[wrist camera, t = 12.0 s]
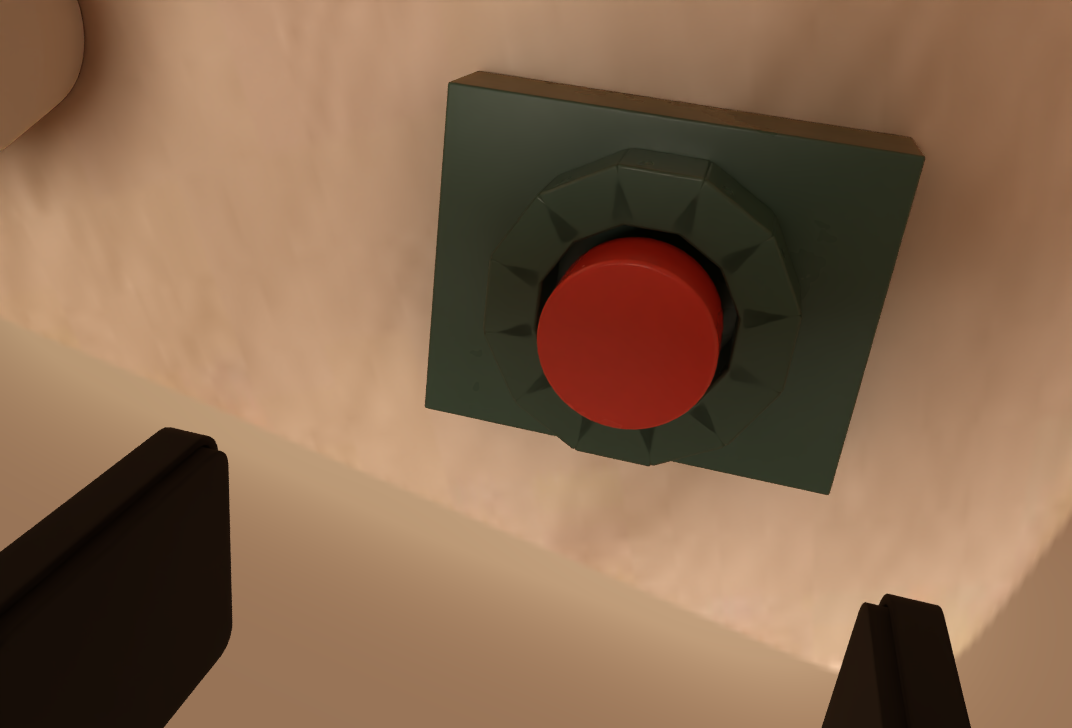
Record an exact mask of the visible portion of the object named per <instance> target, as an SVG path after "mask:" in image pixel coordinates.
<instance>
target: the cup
mask: <svg viewBox="0 0 1072 728" xmlns="http://www.w3.org/2000/svg"><path fill="white" fill-rule="evenodd" d="M83 54H84V28H83V21H82V16H81V11H80V7H79V4H78V1H77V0H0V151H2V150H3V149H5V148H6V147H7V146H9V145H10V144H11V143H12V142H14V141H15V140H16V139H17V138H18V137H20V136H21V135H22V134H23V133H24V132H26V131H27V130H28V129H29V128H30V127H32V126H33V125H34V124H35V123H36V122H37V121H39V120H40V119H41V118H42V117H43V116H45V115H46V114H47V113H48V112H49V111H51V110H52V109H53V108H54V107H55V106H57V105H58V104H59V103H60V102H61V101H62V100H63V99H64V98H65V97H66V96H67V95H68V93H69V92H70V91H71V89H72V88H73V86H74V84H75V82H76V80H77V78H78V75H79V72H80V69H81V65H82V61H83Z"/></svg>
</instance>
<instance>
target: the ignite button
mask: <svg viewBox="0 0 1072 728" xmlns="http://www.w3.org/2000/svg"><path fill="white" fill-rule="evenodd" d="M722 332H723V309H722V303H721V300H720V296H719V293H718V291H717V289H716V287H715V284H714V282H713V281H712V279H711V278H710V276H709V274H708V273H707V272H706V271H705V270H704V268H703V267H702V266H701V265H700V264H699V263H698V262H697V261H696V260H695V259H694V258H693V257H691V256H690V255H689V254H687V253H686V252H684V251H683V250H681V249H679V248H677V247H675V246H674V245H671V244H669V243H666V242H663V241H660V240H656V239H652V238H645V237H624V238H617V239H613V240H610V241H606V242H604V243H601V244H599V245H597V246H595V247H593V248H591V249H590V250H588V251H586V252H585V253H584V254H583V255H581V256H580V257H579V258H578V259H577V260H576V261H575V262H574V263H573V264H572V265H571V266H570V267H569V269H568V270H567V272H566V273H565V274H564V276H563V277H562V279H561V280H560V282H559V283H558V285H557V286H556V288H555V289H554V291H553V292H552V293H551V295H550V296H549V298H548V299H547V301H546V303H545V305H544V307H543V310H542V312H541V315H540V318H539V323H538V328H537V351H538V356H539V360H540V364H541V366H542V369H543V372H544V374H545V376H546V378H547V380H548V382H549V384H550V385H551V386H552V388H553V389H554V391H555V392H556V393H557V395H558V396H559V397H560V398H561V399H562V400H563V401H564V402H565V403H566V404H567V405H568V406H569V407H570V408H572V409H573V410H574V411H576V412H577V413H579V414H580V415H582V416H584V417H586V418H587V419H589V420H591V421H594V422H596V423H599V424H601V425H605V426H609V427H612V428H619V429H633V430H636V429H647V428H651V427H656V426H659V425H662V424H665V423H668V422H670V421H672V420H674V419H676V418H679V417H680V416H682V415H683V414H685V413H686V412H688V411H689V410H690V409H691V408H692V407H693V406H694V405H696V404H697V402H698V401H699V400H700V399H701V398H702V397H703V395H704V394H705V392H706V391H707V389H708V388H709V386H710V384H711V382H712V380H713V377H714V375H715V371H716V368H717V364H718V358H719V351H720V345H721V339H722Z"/></svg>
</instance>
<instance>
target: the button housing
mask: <svg viewBox="0 0 1072 728" xmlns="http://www.w3.org/2000/svg"><path fill="white" fill-rule="evenodd" d="M924 161H925V156H924V155H923V153H922V152H921V150H920V149H919V147H918V146H917V145H916V143H915V142H914V140H913V139H912V138H911V137H905V136H898V135H892V134H885V133H879V132H872V131H866V130H859V129H853V128H846V127H840V126H833V125H827V124H820V123H813V122H807V121H800V120H794V119H787V118H781V117H774V116H768V115H761V114H755V113H748V112H742V111H735V110H729V109H722V108H716V107H709V106H703V105H696V104H690V103H683V102H677V101H670V100H664V99H657V98H651V97H644V96H638V95H631V94H625V93H618V92H612V91H605V90H599V89H592V88H586V87H579V86H572V85H566V84H559V83H553V82H546V81H540V80H533V79H527V78H520V77H514V76H507V75H501V74H494V73H488V72H481V71H477V72H474V73H472V74H469V75H467V76H464V77H461V78H459V79H456V80H454V81H451V82H449V84H448V94H447V108H446V121H445V135H444V149H443V163H442V177H441V190H440V204H439V218H438V232H437V246H436V259H435V273H434V287H433V301H432V315H431V328H430V342H429V356H428V370H427V384H426V397H425V407H426V408H429V409H433V410H438V411H443V412H447V413H452V414H456V415H461V416H466V417H470V418H475V419H479V420H484V421H489V422H493V423H498V424H502V425H507V426H512V427H516V428H521V429H526V430H530V431H535V432H539V433H544V434H549V435H553V436H557V437H559V438H560V439H561V440H562V441H564V442H565V443H566V444H567V445H569V446H570V447H571V448H573V449H574V448H575V450H577V451H581V452H586V453H590V454H595V455H599V456H604V457H608V458H613V459H618V460H622V461H627V462H631V463H636V464H640V465H645V466H650V465H658V464H661V463H665V462H669V461H673V462H678V463H682V464H687V465H691V466H696V467H701V468H705V469H710V470H714V471H719V472H724V473H728V474H733V475H737V476H742V477H747V478H751V479H756V480H761V481H765V482H770V483H774V484H779V485H784V486H788V487H793V488H797V489H802V490H807V491H811V492H816V493H820V494H825V495H829V493H830V490H831V487H832V483H833V480H834V476H835V473H836V469H837V466H838V462H839V459H840V455H841V452H842V448H843V445H844V441H845V438H846V434H847V431H848V427H849V424H850V420H851V417H852V413H853V410H854V406H855V403H856V399H857V396H858V392H859V389H860V385H861V382H862V378H863V375H864V371H865V368H866V364H867V361H868V357H869V354H870V350H871V347H872V343H873V340H874V336H875V333H876V329H877V326H878V322H879V319H880V315H881V312H882V308H883V305H884V301H885V298H886V294H887V291H888V287H889V284H890V280H891V277H892V273H893V270H894V266H895V263H896V259H897V256H898V252H899V249H900V245H901V242H902V238H903V235H904V231H905V228H906V224H907V221H908V217H909V214H910V210H911V207H912V203H913V200H914V196H915V193H916V189H917V186H918V182H919V179H920V175H921V172H922V168H923V165H924ZM624 237H645V238H652V239H656V240H660V241H663V242H666V243H669V244H671V245H674V246H675V247H677V248H679V249H681V250H683V251H684V252H686V253H687V254H689V255H690V256H691V257H693V258H694V259H695V260H696V261H697V262H698V263H699V264H700V265H701V266H702V267H703V268H704V270H705V271H706V272H707V273H708V274H709V276H710V278H711V279H712V281H713V282H714V284H715V287H716V289H717V291H718V293H719V296H720V300H721V303H722V309H723V332H722V339H721V345H720V351H719V358H718V364H717V368H716V371H715V375H714V377H713V380H712V382H711V384H710V386H709V388H708V389H707V391H706V392H705V394H704V395H703V397H702V398H701V399H700V400H699V401H698V402H697V404H696V405H694V406H693V407H692V408H691V409H690V410H689V411H688V412H686V413H685V414H683V415H682V416H680V417H679V418H676V419H674V420H672V421H670V422H668V423H665V424H662V425H659V426H656V427H651V428H647V429H636V430H633V429H619V428H612V427H609V426H605V425H601V424H599V423H596V422H594V421H591V420H589V419H587V418H586V417H584V416H582V415H580V414H579V413H577V412H576V411H574V410H573V409H572V408H570V407H569V406H568V405H567V404H566V403H565V402H564V401H563V400H562V399H561V398H560V397H559V396H558V395H557V393H556V392H555V391H554V389H553V388H552V386H551V385H550V384H549V382H548V380H547V378H546V376H545V374H544V372H543V369H542V366H541V364H540V360H539V356H538V351H537V328H538V323H539V318H540V315H541V312H542V310H543V307H544V305H545V303H546V301H547V299H548V298H549V296H550V295H551V293H552V292H553V291H554V289H555V288H556V286H557V285H558V283H559V282H560V280H561V279H562V277H563V276H564V274H565V273H566V272H567V270H568V269H569V267H570V266H571V265H572V264H573V263H574V262H575V261H576V260H577V259H578V258H579V257H580V256H581V255H583V254H584V253H585V252H586V251H588V250H590V249H591V248H593V247H595V246H597V245H599V244H601V243H604V242H606V241H610V240H613V239H617V238H624Z"/></svg>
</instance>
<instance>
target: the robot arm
mask: <svg viewBox="0 0 1072 728" xmlns="http://www.w3.org/2000/svg"><path fill="white" fill-rule="evenodd" d="M228 475H229V472H228V459H227V456H226V454H225V453H224V452H222V451H218V448H217V444H216V442H215V440H214V439H213V438H211V437H209V436H206V435H201V434H197V433H193V432H188V431H184V430H180V429H175V428H171V427H170V428H166V427H165V428H163V429H161V430H159V431H158V432H157V433H155V434H154V435H153V436H151V437H150V438H149V439H147V440H146V441H145V442H143V443H142V444H141V445H140V446H138V447H137V448H136V449H134V450H133V451H132V452H131V453H129V454H128V455H126V456H125V457H124V458H123V459H121V460H120V461H119V462H117V463H116V464H115V465H114V466H112V467H111V468H110V469H108V470H107V471H106V472H104V473H103V474H102V475H100V476H99V477H98V478H97V479H95V480H94V481H92V482H91V483H90V484H89V485H87V486H86V487H85V488H84V489H82V490H81V491H79V492H78V493H77V494H75V495H74V496H73V497H72V498H70V499H69V500H68V501H67V502H65V503H64V504H62V505H61V506H60V507H58V508H57V509H56V510H55V511H53V512H52V513H51V514H49V515H48V516H47V517H45V518H44V519H43V520H42V521H40V522H39V523H38V524H36V525H35V526H34V527H33V528H31V529H30V530H28V531H27V532H26V533H24V534H23V535H22V536H21V537H19V538H18V539H17V540H15V541H14V542H13V543H12V544H10V545H9V546H7V547H6V548H5V549H4V550H2V551H1V552H0V728H164V726H165V725H166V724H167V723H168V721H169V720H170V719H171V718H172V716H173V715H174V714H175V713H176V711H177V710H178V709H179V708H180V706H181V705H182V704H183V703H184V701H185V700H186V699H187V698H188V696H189V695H190V694H191V693H192V691H193V690H194V689H195V688H196V686H197V685H198V684H199V683H200V681H201V680H202V679H203V678H204V676H205V675H206V674H207V673H208V672H209V670H210V669H211V668H212V666H213V665H214V664H215V663H216V662H217V660H218V659H219V658H220V657H221V655H222V653H223V652H224V650H225V648H226V646H227V644H228V641H229V639H230V635H231V631H232V593H231V553H230V514H229V476H228ZM822 728H971V726H970V722H969V718H968V714H967V709H966V705H965V702H964V697H963V693H962V689H961V684H960V681H959V676H958V672H957V668H956V664H955V659H954V655H953V651H952V647H951V643H950V639H949V635H948V630H947V626H946V622H945V618H944V614H943V611H942V609H941V607H939V606H938V605H934V604H930V603H925V602H921V601H917V600H912V599H908V598H904V597H899V596H895V595H891V594H886V595H884V596H883V598H882V599H881V601H880V604H879V605H875V604H871V603H866V602H865V603H863V604H862V606H861V608H860V610H859V613H858V616H857V619H856V622H855V625H854V628H853V631H852V635H851V638H850V641H849V644H848V647H847V650H846V653H845V656H844V659H843V663H842V666H841V669H840V672H839V675H838V678H837V681H836V684H835V687H834V691H833V694H832V697H831V700H830V703H829V707H828V709H827V712H826V716H825V719H824V722H823V725H822Z"/></svg>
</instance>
